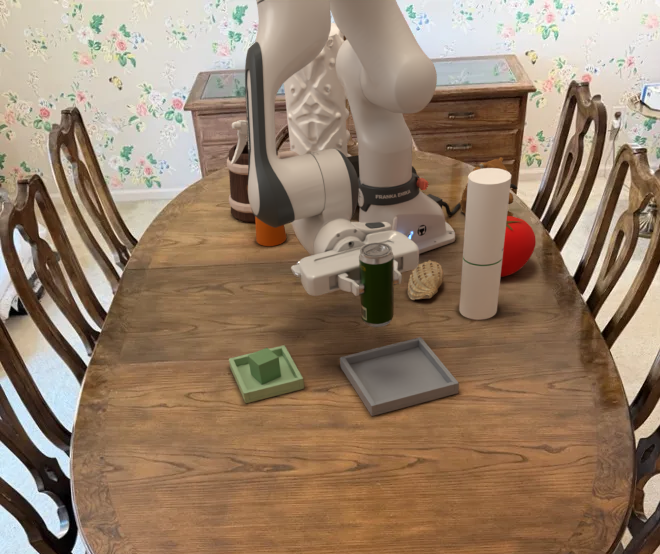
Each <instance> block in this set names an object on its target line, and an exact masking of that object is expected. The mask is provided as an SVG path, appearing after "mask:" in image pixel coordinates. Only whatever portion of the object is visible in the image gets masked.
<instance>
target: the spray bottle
mask: <svg viewBox="0 0 660 554" xmlns="http://www.w3.org/2000/svg"><path fill="white" fill-rule="evenodd" d="M231 129H233V130H235V131H237V132H236V136H237V143H236V144H237V147H236V150H235V153H234V156H233V159H232V161H231V164H234V163H235V162H236V161H237V159H238V158H239V156H240V155H241V153H242V151H243V149H244V147H245V145H246V142H247V141H248V138H247V119H245V120H244V119H242V120H241V119H237V121H233V122H231ZM255 222H256V223H255V238H256V243H257V244H259V245H260V246H263V247H275V246H278V245H281V244H283V243H284V242H285V241H287V233H286V228H285V225H282V226H279V227H276V228H274V227H271V226H269V225H267V224H265V223H264V222H262V221H261V220H259V219H258V218H257V217H256V216H255Z"/></svg>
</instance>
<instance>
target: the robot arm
mask: <svg viewBox="0 0 660 554" xmlns="http://www.w3.org/2000/svg"><path fill="white" fill-rule="evenodd" d="M256 7H257V17H258V24H257V25H258V26H257V32H256V38H255V41H254V42H253V43H252V45H251V46H250V47H248V49H247V52H246V57H245V63H244V64H245V65H244V93H245V96H244V97H245V113H246V114H245V115H246V121H247V136H246V137H247V138H248V198H249V203H250V206H251V209H252V212H253V214H254V216H256V217H257V218H258V219H259V220H261V221H262V222H264V223H265V224H267V225H269V226H271V227H274V228H276V227H279V226H282V225H284V226H285V225H289V224H290V223H291V227H292V230H293V232H294V234H295V236H296V238H297V240H298V241H299V243H300V245H301V246H302V247H303V248H304V250H306V251H307V253H308V254H310V255H309V256H305V257H303V258H301V259H300V260H298V261H296V262H295V264H293V265H291V267H290V271H291V273H292V274H293V275H294V276H295V277H297V278H299V279H300V283H301V285H302V287H303V289H304V291H305V292H306V293H307V294H308V295H309V296H313V297H319V296H323V295H326V294H330V293H333V292H337V291H342V292H343V291H344V292H348V293H352V294H353V296H355V297H358V296H360V295H361V294H364V293H365V291H364V284H363V283H362V282H361V281H360V274H359V255H360V249H361V248H362V247H363V246H365V245H367V244H370V243H385V244H388V245H389V246H391V248H392V253H393V255H394V286H396V285H401V284H402V281H403V280H402V279H403V276H402V274H403V273H406V272H409V271H413V269H416V268H417V266H418V264H420V255H421V254H423V253H426V252H428V251H429V252H430V251H431V250H434V249H438V248H440V247H443V246H446V245H449V244H452V243H454V242H456V241H455V240H456V232H455V230H454V228H453V226H451V225H450V223H448V222H447V221H446V217H445V213H444V211H443V207H444V208H445V212H446V214H447V216H454V215H455V214H457V212H458V211H459V209H461V206H460V203H459V202H458V203H457V204H456V206H455V207H454V208H453V210H452V211H451V207H450V205H449V204H448V203H447V202H446V201H444V200H443V198H441V197H439V196H436V195H433V194H431V193H429V194H426V193H425V192H423V191H426V190H427V189H428V187H429V182H428V180H426V178H424V177H420V175H418V174H417V175H416V174H414V173H412V166H413V137H412V133H411V132H412V131H411V130H410V128H409V126H408V124H407V123H406V120H405V118H404V114H406V115H407V114H409V115H410V114H411V115H412V114H416V113H417V114H418V113H420V112H421V111H423V110H424V109H425V108H426V107H427V106H428V105H429V104H430V102H431V100H433V97H434V95H435V92H436V89H437V85H438V84H437V83H438V74H437V70H436V66H435V64H434V62H433V60H431V58H430V57H429V56H428V55H427V54H426V53H425V51H424V50H423V49H422V47H421V45H420V44H419V43H418V40H417V39H416V37H415V35H414V33H413V31H412V30H411V28H410V26H409V24H408V22H407V20H406V18H405V16H404V14H403V12H402V10H401V8H400V7H399V4H398V2H397V0H256ZM332 18H333V21H334V23H336V25H337V27H338V29H339V30H340V31H341V32H342V33H343V35H344V36H343V37H344V38H345V40H344V42H343V44H342V45H341V47H340V48H339V51H338V53H337V57H336V73H337V76H338V79H339V81H340V82H341V84H342V86H343V88H344V90H345V92H346V95H347V99H346V100H347V102H348V107H349V110H350V113H351V117H352V122H353V124H354V130H355V135H356V141H357V153H358V154H357V155H359V175H360V176H359V178H358V177H357V174H356V171H355V169H354V167H353V165H352V163H351V162H350V161H349V159H348V158H347V157H346V156H345V155H344V154H343V153H342V152H341V151H339V150H338V149H336V148H332V149H326V150H321V151H316V152H311V153H307V154H304V155H299V156H294V157H289V158H284V159H279V158H277V155H276V148H277V138H276V137H277V135H276V134H277V133H276V109H275V107H276V106H275V104H276V98H277V94H278V93H279V90H280V89H281V87H282V86H283V85H284V82H285V81H286V80H287V79H288V78H290V77H291V76H292V75H294V74H295V73H296V72H298V71H299V70H301V69H302V68H304V67H305V66H306V65H308V64H309V63H310V62H312V61H313V60H314V59H315V58H316V57H317V56H318V55H319V54H320V52H321V51H322V50H323V48H324V46H325V45H326V42H327V40H328V38H329V34H330V31H331V23H332ZM510 189H513V190H517V189H518V186H517V185H516V184H514V183H511V184H510ZM357 203H359V206H357ZM357 207H359V213H358V221H351V219H353V217H354V215H355V213H356V209H357Z"/></svg>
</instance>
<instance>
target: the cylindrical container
mask: <svg viewBox="0 0 660 554" xmlns="http://www.w3.org/2000/svg"><path fill="white" fill-rule="evenodd" d="M472 171H473V170H472ZM472 171H471V172H470V173H469V174H468V176H467V183H468V187H467V202H466V215H465V218H464V233H463V251H462V263H461V264H462V265H461V279H460V293H459V307H458V311H459V313H460V314H461V316H463V317H465V318H467V319H469V320H475V321H476V320H477V321H478V320H479V321H480V320H487V319H491V318H492V317H494V316H495V315H496V314H497V312H498V304H499V303H498V302H499V295H500V285H501V278H502V277H501V267H502V258H503V249H504V239H505V230H506V221H507V212H508V211H509V204H508V202H509V193H511V192H510V191H511V188H510V184H512V177H511V175H512V174H511V172H509V171H506V170H503V169H498V168H483V169H478V170H475V171H473V172H472Z"/></svg>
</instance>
